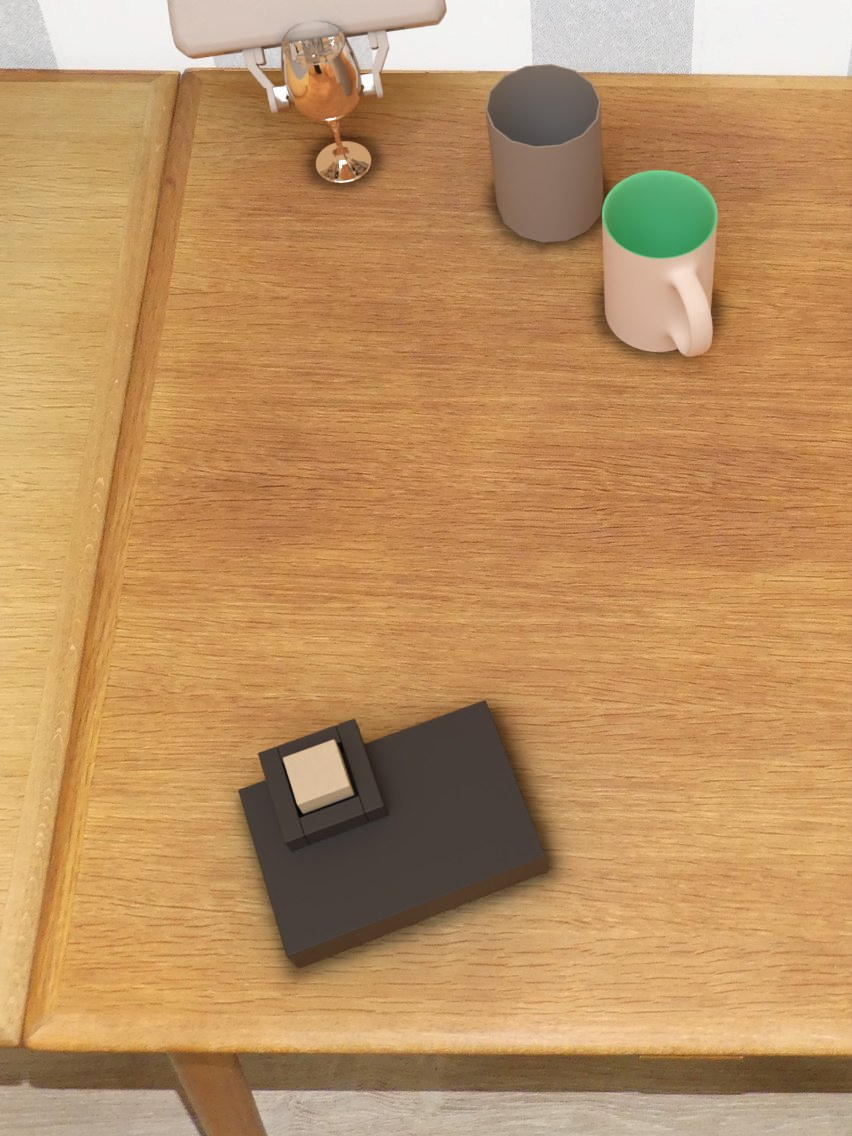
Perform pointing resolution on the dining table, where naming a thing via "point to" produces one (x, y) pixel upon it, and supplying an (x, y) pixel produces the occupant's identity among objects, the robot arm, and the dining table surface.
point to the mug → (660, 262)
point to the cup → (546, 152)
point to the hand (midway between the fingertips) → (329, 105)
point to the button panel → (391, 832)
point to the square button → (318, 776)
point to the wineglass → (326, 97)
